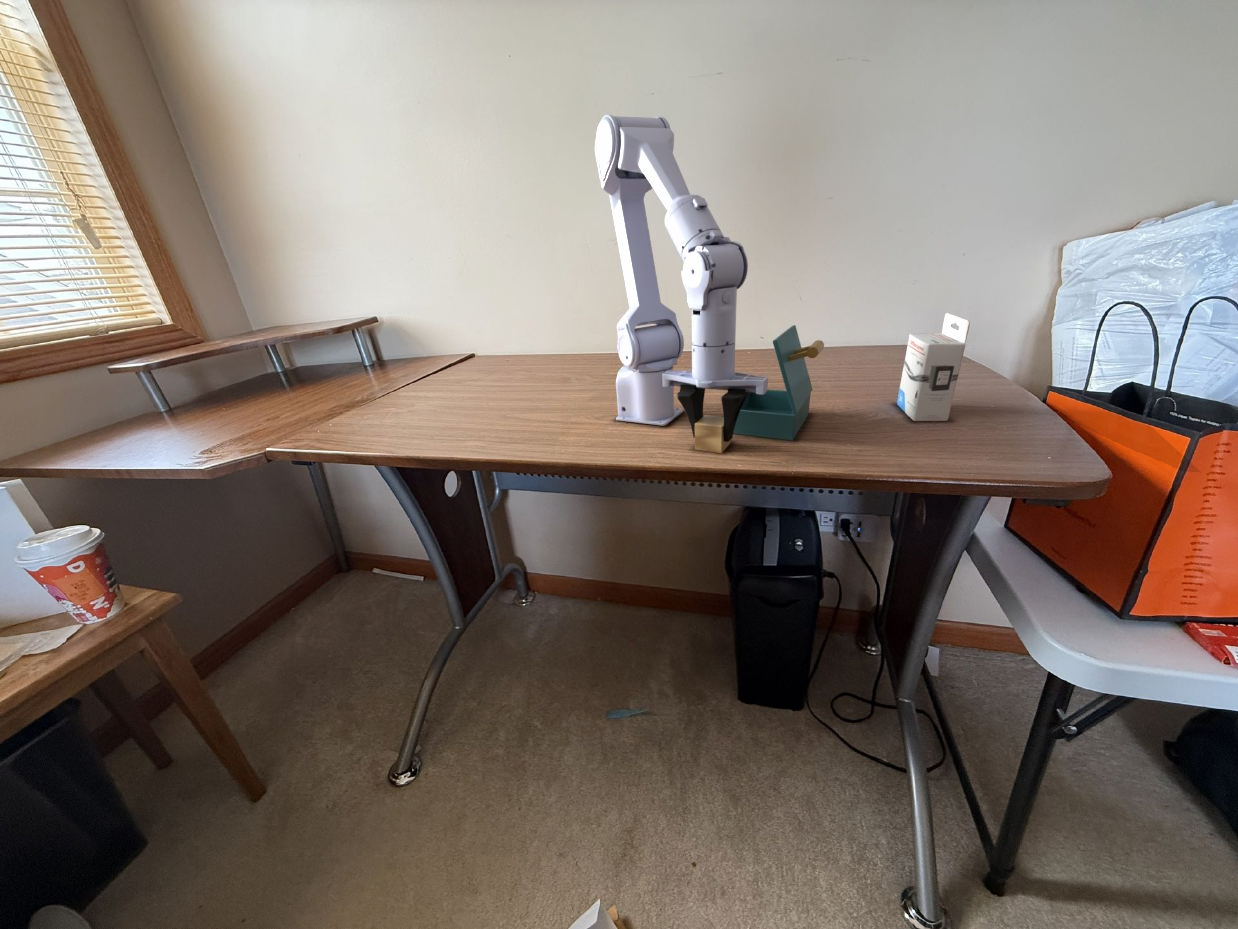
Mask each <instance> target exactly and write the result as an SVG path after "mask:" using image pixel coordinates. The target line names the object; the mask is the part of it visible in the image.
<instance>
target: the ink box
mask: <svg viewBox="0 0 1238 929" xmlns="http://www.w3.org/2000/svg"><path fill="white" fill-rule="evenodd" d="M970 324H971V322H970V320H969V319H966V318H963V317H960V316H957V315H955V314H951V313H949V312H946V313H945V314H944V319H943V324H942V330H941V332H939V333H938V332H937V333H935V332H933V333H910V334H909V336H908V341H907V346H906V351H905V356H904V362H903V368H902V374H901V379H900V385H899V389H898V396H897V402H896V405H897V406H898V407H899V408H900V409H901V410H902V411H903V412H904V413H905V414H906V415H907V416H908V417H909V418H910V419H911V420H912V421H914V422H948V420H949V418H950V413H951V409H952V404H953V400H954V395H955V390H956V387H957V383H958V380H959V379H958V378H959V374H960V370H961V366H962V361H963V357H964V354H965V348H966V342H967V338H968V334H969V331H970V330H969V329H970ZM953 325H956V326H957V327H958V329H956V328H954V327H953Z"/></svg>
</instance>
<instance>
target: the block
mask: <svg viewBox="0 0 1238 929" xmlns="http://www.w3.org/2000/svg"><path fill="white" fill-rule="evenodd" d="M723 427H724V416H718V415H708V414H703V417H702V418H701V419H700V420H699V421H697V422H696V423H695V438H694V450H696V451H704V452H708V453H709V452H710V453H716V454H717V453H718V454H722V453H723V452H725V450H726V449H727V447H729V445H730V444H731V440H730V441H729V442H724V437H723Z"/></svg>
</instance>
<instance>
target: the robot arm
mask: <svg viewBox="0 0 1238 929" xmlns="http://www.w3.org/2000/svg"><path fill="white" fill-rule="evenodd" d="M674 147H675V133H674V131H673V130H672V129H671V125H670V123H669V121H668V119H667V118H666V117H664V116H656V117H645V116H644V117H643V116H621V115H620V116H618V115H613V114H605V115H603V117H602V118H601V120H600V121H599V123H598V125H597V129H596V133H595V141H594V156H595V159H596V165H597V171H598V177H599V180H600V185H601V189H602V190H603V191H604V192H606V193H607V194H608V197H609V202H610V208H611V213H612V219H613V225H614V229H615V235H616V241H617V246H618V252H619V257H620V263H621V269H622V275H623V279H624V285H625V292H626V296H627V301H628V302H627V303H628V307H629V309H628V310H627V311H626V312H625V313H624V314H623V316H622V317H621V318H620V320H618V322H617V324H616V332H617V344H616V345H617V353H618V357H619V359H620V362H621V363H622V365H623V366H622V367H621V368H620V369H619V370H618V372H617V374H616V380H615V388H616V389H615V391H616V404H617V416H616V417H615V418H616V419H615V420H616V421H618V422H619V421H620V422H629V423H636V424H645V425H653V426H661V427H664V426H665V427H666V426H667V425H668V424H669V423H671V422H672V421H673V420H674V419H676V418H677V417H678V416H680V415H681V414H682V413H685V414H686V417H687V419H688V422H689V425H690V429H691V433H692V438H694V439H695V423H696V422H697V421H699V420H700V419H701V418H702V417H703V416H704V403H705V394H706V389H707V390H716V391H717V390H718V391H719V390H720V391H727V392H726V393H724V394H723V395H721V397H720V398H721V399H720V400H721V405H722V412H723V414H722V415H723V417H724V427H723V437H724V442H729V441H730V442H731V440H732V439H733V437H734V433H733V432H734V427H735V424H736V421H737V418H738V415H739V413H740V410H741V408H742V406H743V404H744V402H745V400H746V398H747V397H748V395H749V393H750V392H755V393H756V394H761V395H764V394H765V393H766V392H767V390H768V388H769V387H768V386H769V376H762V375H754V374H750V373H749V374H748V373H743V372H737V371H736V370H735V367H736V335H737V334H736V332H737V300H738V298H737V297H738V296H737V295H738V289H740V288H741V287H742V286H743V284H745V281H746V279H747V275H748V270H749V262H748V257H747V254H746V252H745V248H744V246H743V244H741V243H740V242H738V241H735V240H731V238H730V237H728V236H724V234H723V232H722V230H721V228H720V226H719V225H718V223H717V221H716V219H715V218H714V216H713V214H712V212H711V210H710V209H709V207H708V206H709V204H708V202H707V201H706V199H705V198H704V197H702V196H700V195H699V194H691V192H690V191H689V188H688V185H687V182H686V181H685V179H684V176H683V173H682V172H681V171H682V170H681V169H680V166H679V164H678V162H677V160H676V157H675V155H674ZM651 190H653V191H654V193H655V194H656V195H657V197H658V199H659V200H660V202H661V203H662V205H663V206H664V208H665V209H666V214H665V216H664V226H665V228H666V231H667V233H668V234H669V236H670V239H671V241H672V243H673V245H674V246H675V248H676V250H677V252H678V254H679V256H680V259H681V260H682V262H683V266H682V270H681V271H680V274H681V281H682V284H683V287H684V290H685V292H686V304H687V305H688V308H689V309H691V370H674V366H677V365H678V359H680V358H681V356H682V354H683V352H684V347H685V339H684V334H683V332H682V329H681V328H680V325H679V323H678V321H677V313H676V312H675V311H673V310H672V309H670V308H669V307H668V306H666V305H665V304H663V303H662V302H661V301H662V300H661V295H660V288H659V284H658V277H657V272H656V270H657V269H656V266H655V264H656V263H655V260H654V254H653V247H652V241H651V236H650V230H649V223H648V218H647V212H646V205H645V195H646V193H648V192H650V191H651ZM646 325H648V326H646ZM639 326H642V327H639ZM674 387H677V388H679V391H678V392H677V393H676V397H677V400H678V401H679V403H680V404H681V406H682V408H677V407H675V388H674Z"/></svg>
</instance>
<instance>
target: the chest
mask: <svg viewBox="0 0 1238 929" xmlns="http://www.w3.org/2000/svg"><path fill="white" fill-rule="evenodd" d="M811 394H812V392H811V393H810V394H809V396H808V397H807V399H806V400H805V402H804V403H803V405H802V406H801V408H800V409H799V411H798V412H797V413H795V414H793V412H792V409H791V405H790V402H789V398H788V394H787V391H786V390H783V389H782V390H781V389H768V390H767V392H766V393H765V394H764V395H761V394H756V393H755V392H750V393H749V395H748V397H747V398H746V400H745V402H744V404H743V406H742V408H741V410H740V413H739V415H738V418H737V421H736V424H735V427H734V432H733V435H734V434H735V435H743V436H751V437H752V436H753V437H759V438H769V439H778V440H785V441H794V439H795V438H796V436H797V435H798V432H799V431H800V429H801V428H802V426H803V424H804V422H805V421H806V420H807V418H808V417H809V414H810V405H811V404H810V402H811Z"/></svg>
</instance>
